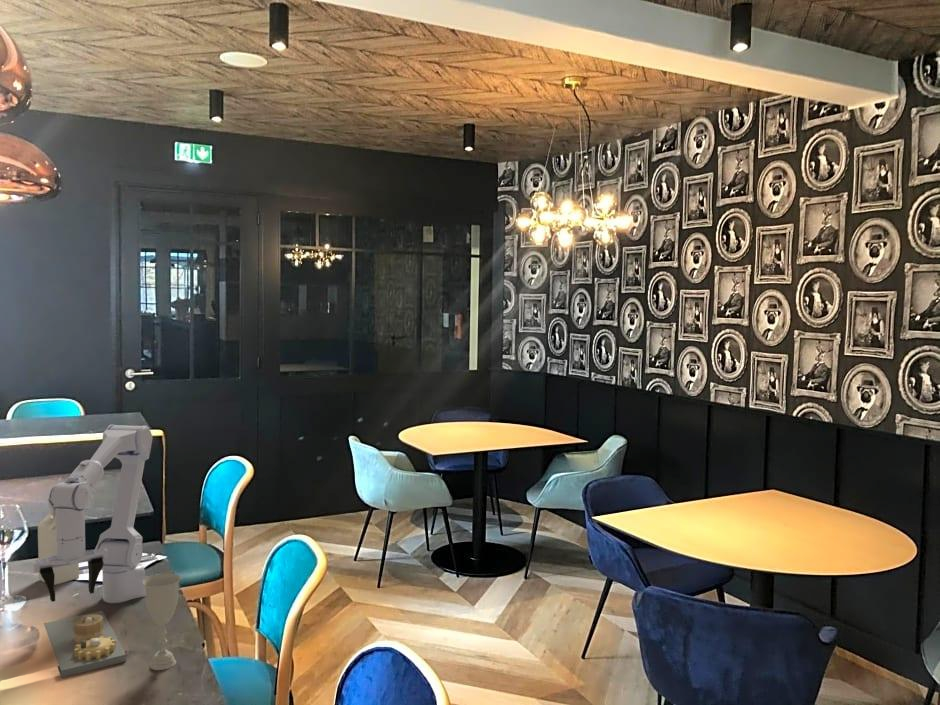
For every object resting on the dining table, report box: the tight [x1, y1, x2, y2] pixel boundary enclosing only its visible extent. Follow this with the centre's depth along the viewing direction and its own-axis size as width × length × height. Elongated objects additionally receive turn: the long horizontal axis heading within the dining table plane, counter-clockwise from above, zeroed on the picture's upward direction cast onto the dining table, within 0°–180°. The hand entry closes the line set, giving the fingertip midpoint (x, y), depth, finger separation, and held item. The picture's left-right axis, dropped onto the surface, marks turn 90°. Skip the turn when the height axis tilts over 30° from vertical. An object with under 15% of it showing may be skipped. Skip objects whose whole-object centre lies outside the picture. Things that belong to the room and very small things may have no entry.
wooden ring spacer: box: [73, 615, 103, 644], centre depth 162 cm, size 6×6×4 cm
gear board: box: [44, 610, 127, 679], centre depth 162 cm, size 12×26×6 cm, turn 36°
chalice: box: [143, 573, 182, 671], centre depth 154 cm, size 7×7×18 cm
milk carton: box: [37, 507, 80, 586], centre depth 198 cm, size 7×7×19 cm
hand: (72, 595), depth 165 cm, fingers open, 7 cm apart
